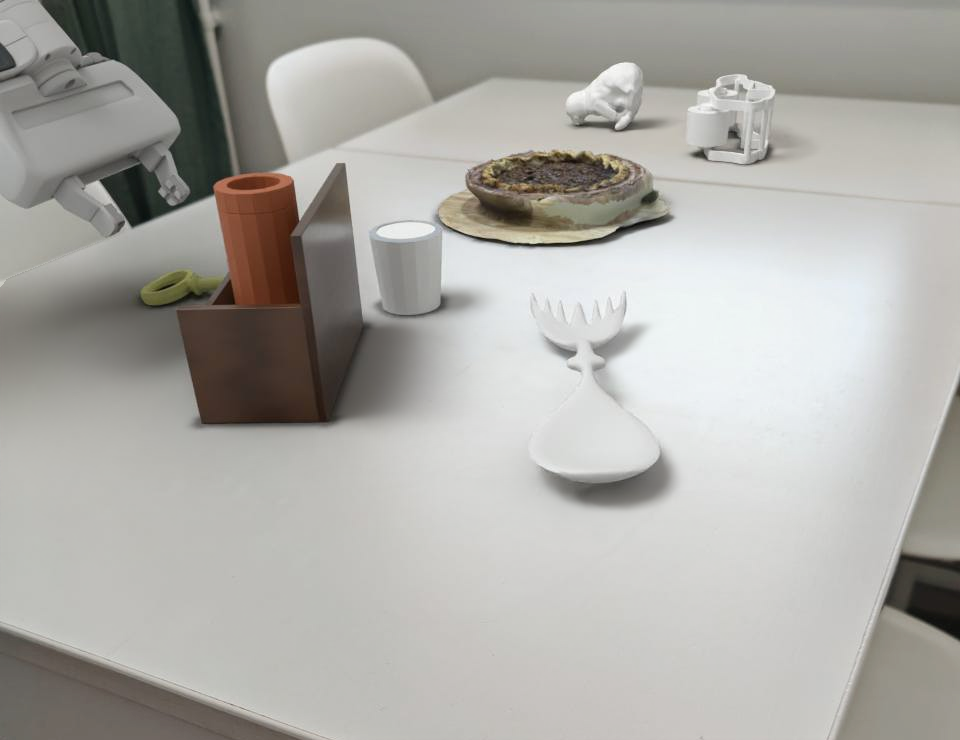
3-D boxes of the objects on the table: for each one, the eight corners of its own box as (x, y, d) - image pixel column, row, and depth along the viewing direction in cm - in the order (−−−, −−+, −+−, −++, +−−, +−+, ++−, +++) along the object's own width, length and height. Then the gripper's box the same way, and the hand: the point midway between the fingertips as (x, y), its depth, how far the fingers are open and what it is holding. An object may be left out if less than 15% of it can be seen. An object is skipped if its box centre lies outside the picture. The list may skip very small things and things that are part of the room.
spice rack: (201, 423, 78) (159, 238, 69) (257, 326, 94) (229, 165, 85) (327, 421, 78) (301, 235, 69) (363, 324, 93) (345, 162, 84)
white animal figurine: (637, 65, 145) (557, 72, 149) (639, 130, 150) (562, 135, 154) (646, 57, 149) (568, 65, 153) (647, 120, 154) (572, 126, 158)
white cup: (362, 304, 97) (353, 230, 93) (418, 287, 101) (412, 214, 96) (404, 323, 93) (397, 246, 89) (461, 304, 96) (457, 228, 92)
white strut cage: (697, 129, 150) (702, 73, 146) (773, 131, 147) (780, 74, 143) (679, 162, 135) (684, 101, 131) (763, 165, 133) (771, 103, 128)
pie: (532, 262, 105) (532, 212, 102) (394, 208, 123) (390, 164, 120) (719, 209, 118) (724, 163, 115) (569, 167, 135) (569, 127, 132)
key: (263, 298, 100) (259, 276, 98) (138, 308, 99) (132, 286, 98) (267, 274, 105) (264, 254, 104) (149, 284, 104) (144, 263, 103)
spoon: (626, 323, 91) (628, 285, 89) (665, 505, 66) (670, 458, 64) (527, 326, 91) (527, 288, 89) (529, 507, 66) (528, 460, 64)
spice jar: (230, 325, 81) (204, 194, 74) (247, 299, 85) (224, 173, 79) (304, 324, 80) (284, 192, 74) (317, 297, 85) (299, 171, 79)
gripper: (88, 76, 90) (199, 205, 94) (-84, 123, 75) (56, 275, 78) (121, 22, 86) (235, 160, 90) (-53, 61, 71) (93, 224, 75)
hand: (150, 214), depth 84 cm, fingers open, 8 cm apart
